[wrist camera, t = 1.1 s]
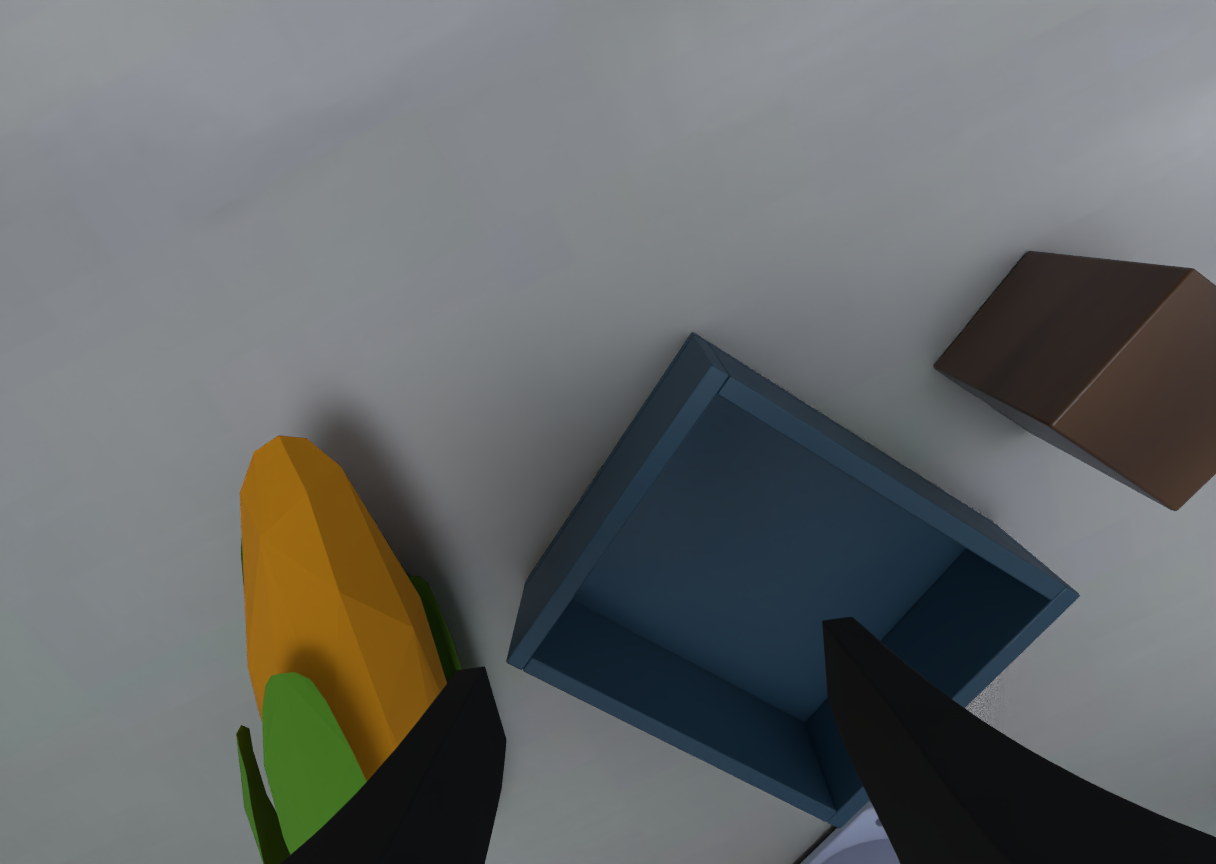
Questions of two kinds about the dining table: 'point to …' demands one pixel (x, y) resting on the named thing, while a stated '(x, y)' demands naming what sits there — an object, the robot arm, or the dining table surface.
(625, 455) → the bin
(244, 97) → the dining table surface
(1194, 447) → the block
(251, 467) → the corn
